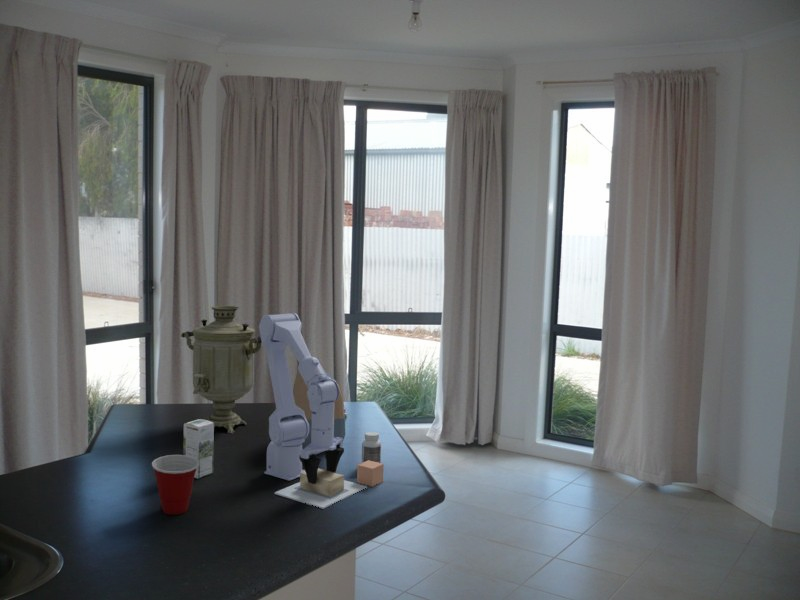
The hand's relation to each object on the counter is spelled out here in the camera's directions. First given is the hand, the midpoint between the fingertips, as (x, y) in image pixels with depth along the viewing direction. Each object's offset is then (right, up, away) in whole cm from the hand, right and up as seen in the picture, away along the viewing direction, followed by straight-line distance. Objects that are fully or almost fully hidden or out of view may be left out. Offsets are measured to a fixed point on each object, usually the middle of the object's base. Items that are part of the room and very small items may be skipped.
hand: (321, 478), depth 193 cm
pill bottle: (+12, -2, +20) cm, 23 cm away
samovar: (-40, +4, +53) cm, 67 cm away
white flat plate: (0, -3, 0) cm, 3 cm away
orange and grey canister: (-6, +1, +41) cm, 42 cm away
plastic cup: (-33, -4, -15) cm, 36 cm away
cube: (+12, -3, +8) cm, 15 cm away
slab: (0, -3, 0) cm, 3 cm away
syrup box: (-34, -1, +10) cm, 36 cm away
